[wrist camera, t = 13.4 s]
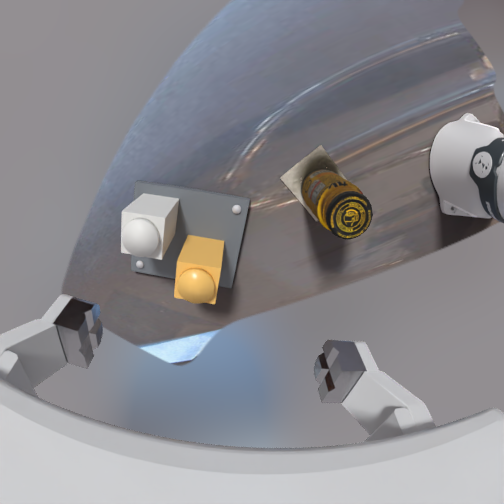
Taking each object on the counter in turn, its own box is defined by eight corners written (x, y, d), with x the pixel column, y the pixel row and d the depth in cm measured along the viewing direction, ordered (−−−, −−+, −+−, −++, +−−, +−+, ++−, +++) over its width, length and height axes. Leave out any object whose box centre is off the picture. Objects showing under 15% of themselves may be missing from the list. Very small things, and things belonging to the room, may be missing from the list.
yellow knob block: (224, 240, 40) (220, 272, 32) (218, 272, 42) (214, 309, 34) (188, 234, 39) (175, 265, 31) (184, 266, 42) (172, 301, 34)
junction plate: (249, 198, 39) (252, 223, 30) (231, 284, 45) (230, 326, 35) (137, 180, 37) (108, 200, 28) (133, 266, 43) (110, 304, 33)
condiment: (316, 221, 41) (342, 259, 30) (279, 177, 38) (296, 201, 27) (354, 190, 39) (393, 218, 28) (320, 144, 36) (353, 155, 25)
